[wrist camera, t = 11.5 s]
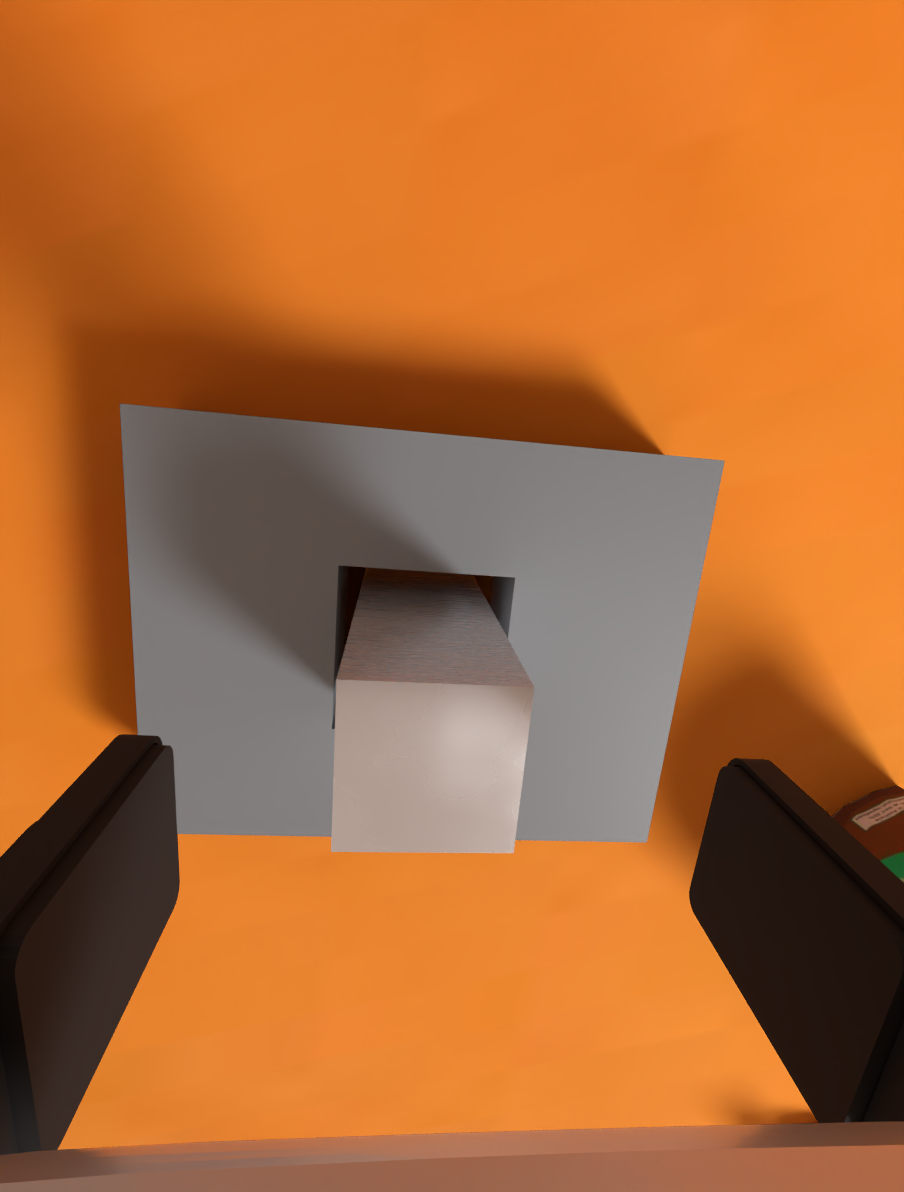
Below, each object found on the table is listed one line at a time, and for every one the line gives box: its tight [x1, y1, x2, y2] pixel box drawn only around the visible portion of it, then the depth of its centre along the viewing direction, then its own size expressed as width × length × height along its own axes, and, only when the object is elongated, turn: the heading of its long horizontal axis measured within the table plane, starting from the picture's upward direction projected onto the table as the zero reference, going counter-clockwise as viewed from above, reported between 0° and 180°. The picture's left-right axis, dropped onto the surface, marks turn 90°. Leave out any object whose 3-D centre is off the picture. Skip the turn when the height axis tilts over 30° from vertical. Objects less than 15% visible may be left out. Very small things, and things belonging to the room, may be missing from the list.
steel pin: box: [331, 567, 534, 853], centre depth 17 cm, size 4×4×11 cm
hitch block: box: [120, 404, 724, 842], centre depth 21 cm, size 14×18×4 cm
